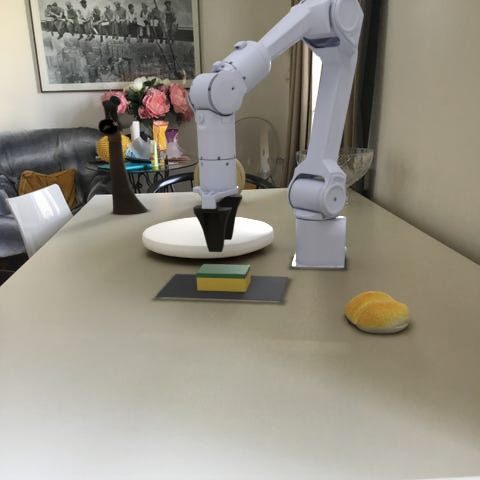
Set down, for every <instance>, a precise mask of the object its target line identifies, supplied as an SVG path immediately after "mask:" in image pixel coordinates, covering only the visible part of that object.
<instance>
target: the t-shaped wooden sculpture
mask: <svg viewBox="0 0 480 480" xmlns="http://www.w3.org/2000/svg"><path fill="white" fill-rule="evenodd" d="M101 104H102V107H103V111H104V113H103V114H104V119H101V120H99V122H98V125H97V126H98V127H97V128H98V131H99V132H100V134H102V136H105V137H107V143H108V144H107V145H108V156H109V157H108V158H109V177H110V186H111V199H112V214H115V215H130V214H131V215H133V214H140V213H146V212H148V208H147V207H146V206H145V205H144V204H143V203H142V202H141V201H140V199H139V198H138V197H137V195H136V193H135V192H134V190H133V188H132V185H131V183H130V179H129V175H128V171H127V168H126V163H125V158H124V149H123V138H122V133H123V130H126V129H129V128H131V127H132V126H133V123H134V119H133V117H132V116H131V115H130V114H128V113H120V114H118V111H119V106H120V105H121V104H122V100H121V98H120V97H119V96H117V95H111V96H110V97H109V99H105V100H103V101H101Z"/></svg>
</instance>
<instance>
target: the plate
mask: <svg viewBox="0 0 480 480" xmlns="http://www.w3.org/2000/svg"><path fill="white" fill-rule="evenodd" d="M274 237H275V233H274V228H273V227H272V226H271V225H269V223H266V222H264V221H261V220H256V219H252V218H246V217H241V216H236V218H235V224H234V231H233V236H232V239H231V240H224V247H223V251H222V252H209V250H208V247H207V244H206V240H205V236H204V233H203V230H202V227H201V225H200V222H199V221H198V219H197V217H196V216H193V217H192V216H191V217H183V218H178V219H171V220H166V221H162V222H159V223H156V224H153V225H150V226H149V227H147V228H146V229H145V230H144V231H143V232H142V236H141V240H142V244H143V246H144V247H145V248H146V249H147V250H149V251H152V252H154V253H156V254H160V255H163V256H167V257H168V256H169V257H176V258H185V259H187V258H189V259H225V258H231V257H238V256H239V257H240V256H242V255H243V256H244V255H246V254H249V253H254V252H255V251H258V250H261V249H263V248H266V247H267V246H269V245H271V244H272V243H273V241H274V239H275V238H274Z"/></svg>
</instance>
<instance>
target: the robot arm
mask: <svg viewBox="0 0 480 480" xmlns="http://www.w3.org/2000/svg"><path fill="white" fill-rule="evenodd" d="M364 15H365V14H364V11H363V9H362V7H361V4H360V2H359V0H301V1H299V3H298V4H295V5H293V6H292V7H290V10H289V12H287V14H286V15H284V16H283V17H282V18H281V19H280V20H279V21H278V22H277V23H276V24H275V25H273V27H272V28H271V29H270V30H269V31H268V32H267V33H266V34H265V35H263V36H262V37H261V38H260V39H259V40H258V41H254V40H241V41H237V42H236V43H235V44H234V45H233V48H234V50H233V51H232V52H231V53H229V55H227V56H226V57H225V58H224V59H222V60H218V61H215V62H214V63H213V64H212V69H211V71H210V72H205V73H200V74H198V75H197V76H196V77H194V78H193V79H192V82H191V85H190V88H189V92H188V93H187V94H186V99H187V103H188V105H189V107H190V109H191V110H192V112H193V114H194V122H195V123H196V134H197V135H196V138H197V139H196V140H197V155H198V156H197V157H198V162H199V176H200V186H197V187H195V186H194V187H192V193H193V194H194V193H195V194H198V195H199V194H200V195H201V196H200V195H199V196H200V199H201V204H198V205H194V206H193V209H192V211H193V215H194V217H197V219H198V221H199V222H200V225H201V227H202V230H203V233H204V236H205V240H206V244H207V247H208V250H209V252H222V251H223V247H224V240H231V239H232V236H233V231H234V224H235V218H236V217H237V214H238V210H239V207H240V204H241V202H242V199H243V194H242V193H241V194H236V193H238V186H237V177H236V159H237V147H236V114H235V113H236V112H237V111H239V110H240V108H241V107H242V105H243V104H242V103H243V100H244V96H245V95H246V94H248V93H249V92H250V91H251V90H252V89H254V88H255V86H257V85H259V83H260V82H262V80H264V79H265V78H266V77H267V76H268V75H269V74H270V72H271V69H272V61H274V60H275V59H277V58H278V57H279V56H280V55H282V54H283V53H284V52H286V51H287V50H288V49H290V48H291V47H292V46H294V45H295V44H296V43H298V42H299V41H302V42H303V43H304V44H305V45H306V46H307V47H308V48H309V49H310V50H311V52H313V53H314V54H315V56H317V57H318V58H319V59H320V61H321V63H322V70H321V75H320V81H319V87H318V91H317V97H316V98H317V99H316V103H315V108H314V113H313V120H312V125H311V130H310V136H309V140H308V145H307V146H308V148H307V152H306V157H305V159H304V160H303V161H301V162H300V163H299V164H298V165H297V166H296V167H295V168H294V172H293V176H292V178H291V180H290V183H289V184H288V186H287V190H286V203H287V205H288V206H289V207H290V208H291V209H292V215H294V216H295V233H294V235H295V240H294V242H295V243H294V247H295V248H294V255H293V259H292V262H291V265H290V266H291V267H293V268H322V269H323V268H324V269H325V268H326V269H327V268H330V269H344V268H345V258H346V257H348V256H347V255H348V247H347V246H346V235H347V216H341V215H340V213H341V212H342V211H343V210H344V208H345V204H346V201H347V190H346V184H347V183H346V182H347V181H346V180H347V178H348V177H347V174H346V173H345V172H344V171H343V169H342V168H341V167H340V165H339V164H338V159H339V155H340V149H341V144H342V139H343V134H344V129H345V124H346V118H347V114H348V109H349V103H350V99H351V94H352V88H353V83H354V78H355V73H356V68H357V63H358V55H359V47H358V46H359V43H360V42H359V41H360V37H361V31H362V28H363V21H364ZM319 177H320V178H319ZM321 177H322V178H323V179H322V178H321Z"/></svg>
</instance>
